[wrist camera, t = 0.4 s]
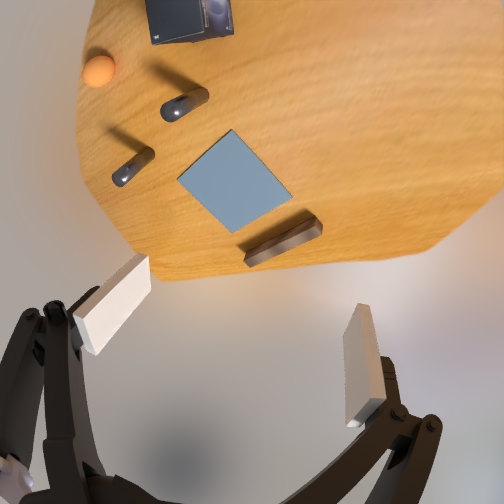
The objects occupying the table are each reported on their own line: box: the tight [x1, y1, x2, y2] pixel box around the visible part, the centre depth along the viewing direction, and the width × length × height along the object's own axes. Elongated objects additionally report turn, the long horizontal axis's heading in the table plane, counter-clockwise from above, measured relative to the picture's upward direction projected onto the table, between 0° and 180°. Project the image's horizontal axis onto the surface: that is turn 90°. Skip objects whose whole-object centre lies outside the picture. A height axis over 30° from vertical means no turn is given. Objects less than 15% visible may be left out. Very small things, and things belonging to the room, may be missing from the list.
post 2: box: [160, 87, 209, 122], centre depth 30 cm, size 3×3×9 cm
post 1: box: [112, 147, 155, 187], centre depth 39 cm, size 3×3×9 cm
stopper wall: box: [243, 217, 323, 268], centre depth 48 cm, size 16×2×2 cm, turn 133°
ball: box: [82, 56, 115, 88], centre depth 29 cm, size 6×6×6 cm
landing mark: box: [177, 130, 293, 233], centre depth 43 cm, size 14×14×1 cm
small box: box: [145, 0, 234, 45], centre depth 20 cm, size 11×6×10 cm, turn 6°
